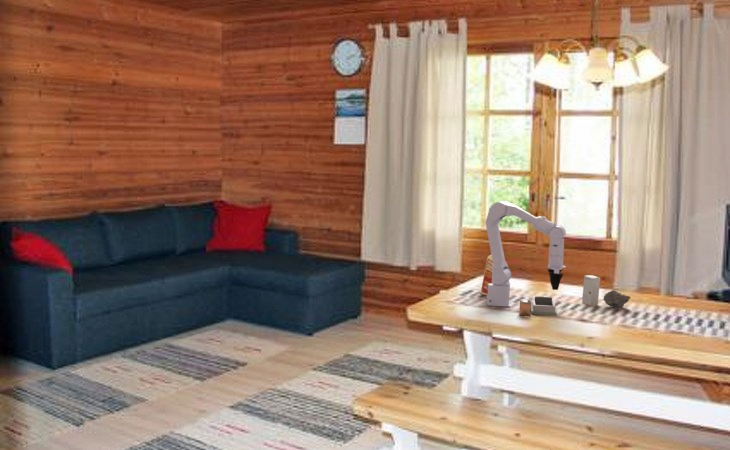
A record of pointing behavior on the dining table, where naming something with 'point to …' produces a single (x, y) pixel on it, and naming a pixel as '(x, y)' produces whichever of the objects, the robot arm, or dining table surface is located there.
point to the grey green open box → (543, 306)
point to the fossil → (615, 299)
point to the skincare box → (591, 290)
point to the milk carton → (487, 275)
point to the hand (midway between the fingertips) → (554, 287)
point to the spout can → (525, 308)
